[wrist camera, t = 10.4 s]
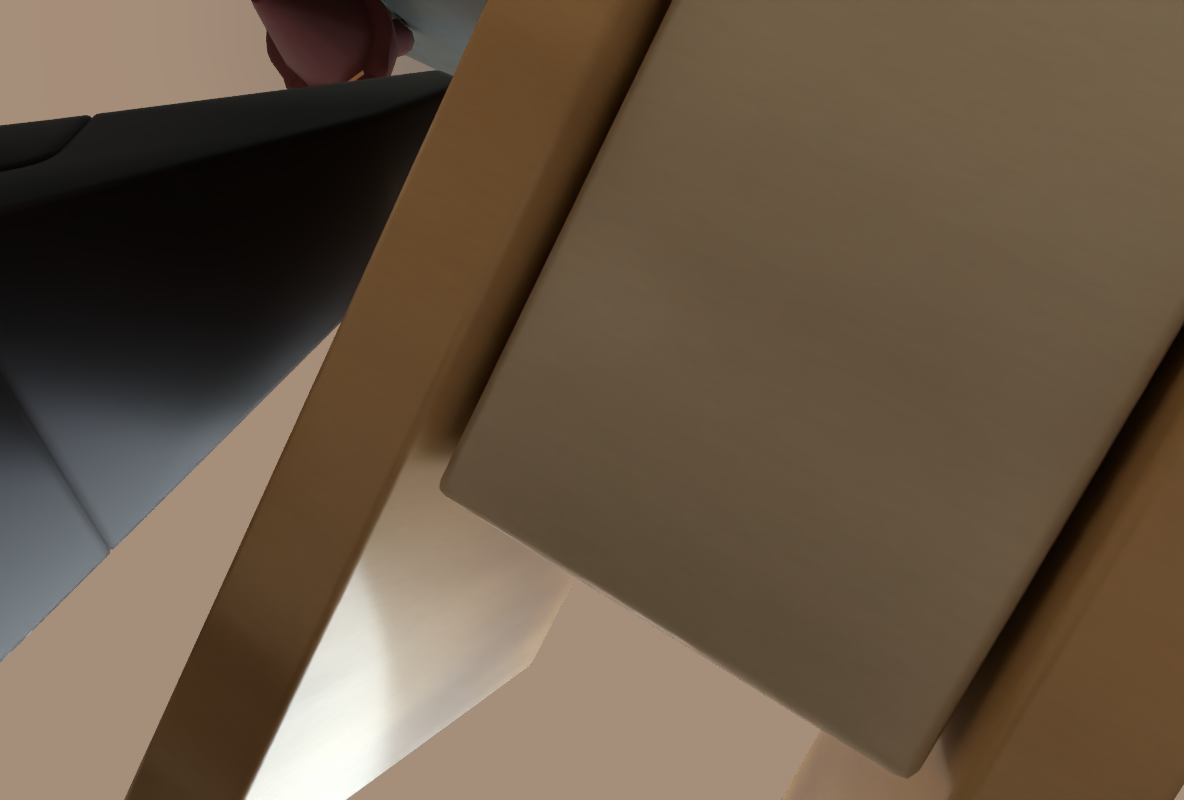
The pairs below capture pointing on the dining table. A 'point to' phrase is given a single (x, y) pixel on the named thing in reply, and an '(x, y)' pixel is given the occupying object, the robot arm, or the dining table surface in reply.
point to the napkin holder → (749, 402)
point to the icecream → (332, 40)
